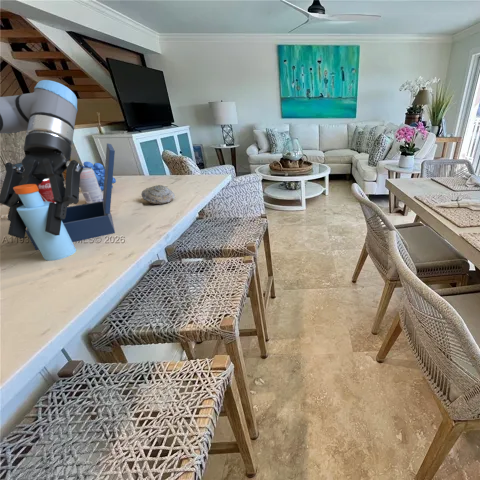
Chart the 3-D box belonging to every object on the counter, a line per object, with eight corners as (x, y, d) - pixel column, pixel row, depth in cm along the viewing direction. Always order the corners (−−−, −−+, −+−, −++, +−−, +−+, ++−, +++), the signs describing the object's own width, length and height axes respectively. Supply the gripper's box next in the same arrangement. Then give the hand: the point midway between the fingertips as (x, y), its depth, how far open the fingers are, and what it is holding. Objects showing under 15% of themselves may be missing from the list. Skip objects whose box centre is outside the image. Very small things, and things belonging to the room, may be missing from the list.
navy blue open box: (37, 253, 63) (25, 231, 61) (45, 231, 74) (35, 212, 72) (116, 235, 72) (108, 215, 69) (112, 218, 83) (105, 200, 80)
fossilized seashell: (138, 202, 91) (138, 182, 90) (145, 203, 100) (145, 185, 100) (173, 204, 95) (173, 185, 94) (177, 205, 104) (177, 187, 104)
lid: (109, 149, 65) (114, 150, 65) (106, 143, 76) (111, 144, 76) (105, 213, 69) (109, 213, 69) (102, 198, 80) (107, 199, 80)
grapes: (82, 195, 104) (68, 164, 98) (85, 191, 109) (73, 161, 103) (117, 191, 108) (106, 161, 103) (119, 187, 114) (109, 158, 108)
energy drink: (102, 199, 100) (89, 166, 94) (107, 201, 97) (94, 168, 91) (84, 202, 96) (70, 169, 90) (90, 205, 93) (75, 171, 88)
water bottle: (43, 263, 58) (1, 191, 50) (45, 253, 62) (8, 185, 54) (75, 255, 61) (41, 186, 53) (76, 246, 65) (45, 181, 57)
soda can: (46, 214, 86) (27, 177, 80) (67, 210, 89) (50, 174, 84) (48, 218, 83) (28, 180, 77) (69, 214, 86) (52, 177, 81)
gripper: (104, 150, 67) (97, 236, 60) (16, 153, 63) (-2, 244, 57) (84, 129, 60) (73, 223, 53) (-16, 131, 56) (-42, 233, 50)
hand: (34, 234), depth 55 cm, fingers closed on water bottle, 6 cm apart
